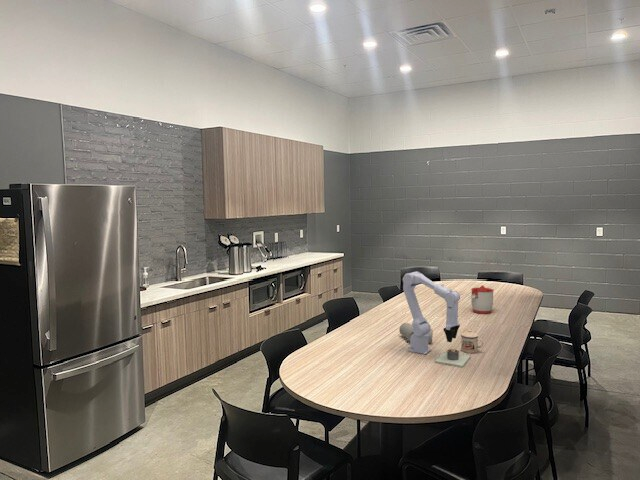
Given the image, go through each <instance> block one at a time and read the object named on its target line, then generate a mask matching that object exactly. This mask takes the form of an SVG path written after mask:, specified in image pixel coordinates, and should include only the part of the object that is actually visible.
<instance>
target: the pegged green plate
mask: <svg viewBox="0 0 640 480" xmlns="http://www.w3.org/2000/svg"><path fill="white" fill-rule="evenodd" d="M455 350H456V349H454V350H453V348H452V350H451V352H455ZM470 359H471V355H465V354H460V353H459V359H458V360H449V359H447V351H443V353H441V354H440V355H439V356H438V357H437V358H436V359H435V360H434V363H435V364H440V365H446V366H452V367H457V368H464V366H465V365H466V364H467V363H468V361H470Z"/></svg>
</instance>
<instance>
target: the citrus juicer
mask: <svg viewBox="0 0 640 480" xmlns="http://www.w3.org/2000/svg"><path fill="white" fill-rule="evenodd" d="M470 290H471V295H470V298H471V299H470V300H471V301H470V302H471V308H472V311H473V312H474V313H476V314H481V315H483V314H484V315H487V314H490V313H491V312H492V309H493V306H494V289H493V288H490V287H489V288H488V287H485V286H484V285H481V286H480V287H472V288H470Z"/></svg>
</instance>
